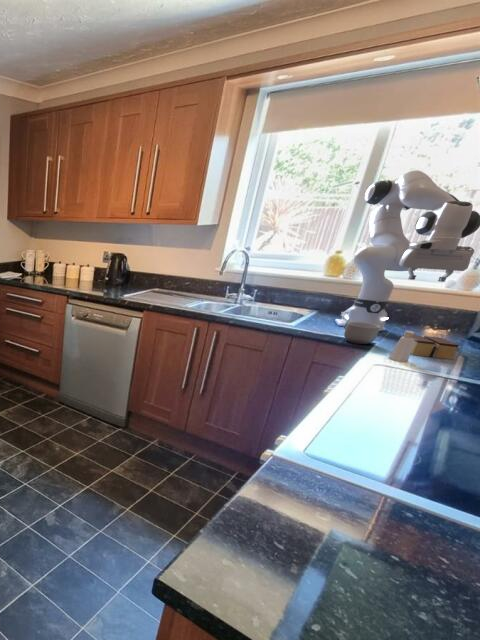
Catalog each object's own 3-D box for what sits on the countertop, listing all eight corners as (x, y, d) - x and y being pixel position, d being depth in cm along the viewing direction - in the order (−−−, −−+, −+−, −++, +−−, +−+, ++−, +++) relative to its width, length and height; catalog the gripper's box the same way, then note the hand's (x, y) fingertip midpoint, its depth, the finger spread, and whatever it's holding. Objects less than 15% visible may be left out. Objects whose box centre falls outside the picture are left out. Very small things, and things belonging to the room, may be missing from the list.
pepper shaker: (409, 362, 158) (422, 334, 154) (390, 360, 160) (402, 331, 156) (405, 359, 162) (418, 331, 158) (386, 356, 165) (398, 328, 160)
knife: (401, 343, 185) (405, 333, 183) (408, 344, 184) (413, 334, 182) (429, 357, 166) (434, 346, 164) (437, 358, 165) (442, 347, 163)
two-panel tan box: (397, 347, 179) (403, 333, 176) (434, 351, 174) (440, 337, 172) (412, 354, 168) (418, 340, 166) (451, 359, 164) (458, 345, 162)
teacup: (379, 346, 178) (387, 328, 175) (350, 344, 180) (357, 326, 177) (358, 338, 190) (365, 320, 188) (331, 336, 192) (337, 318, 190)
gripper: (471, 246, 167) (454, 281, 173) (405, 243, 175) (391, 277, 180) (481, 247, 162) (464, 283, 167) (412, 244, 169) (398, 279, 174)
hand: (426, 280), depth 173 cm, fingers open, 8 cm apart
